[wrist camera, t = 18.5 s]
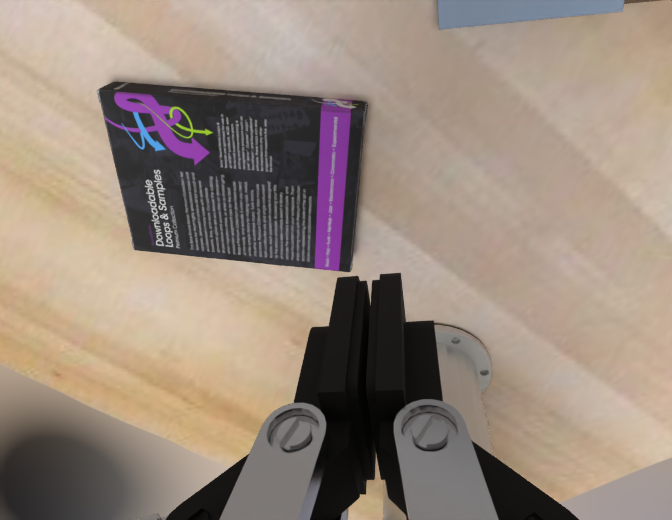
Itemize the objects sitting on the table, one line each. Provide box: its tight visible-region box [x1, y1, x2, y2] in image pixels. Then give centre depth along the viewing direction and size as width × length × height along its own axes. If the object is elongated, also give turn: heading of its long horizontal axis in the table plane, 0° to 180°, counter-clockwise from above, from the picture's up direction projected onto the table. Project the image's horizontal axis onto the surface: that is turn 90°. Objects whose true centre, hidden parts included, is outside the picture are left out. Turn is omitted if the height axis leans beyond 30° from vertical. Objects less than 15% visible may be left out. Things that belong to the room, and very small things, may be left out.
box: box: [96, 82, 368, 272], centre depth 38 cm, size 14×4×20 cm
